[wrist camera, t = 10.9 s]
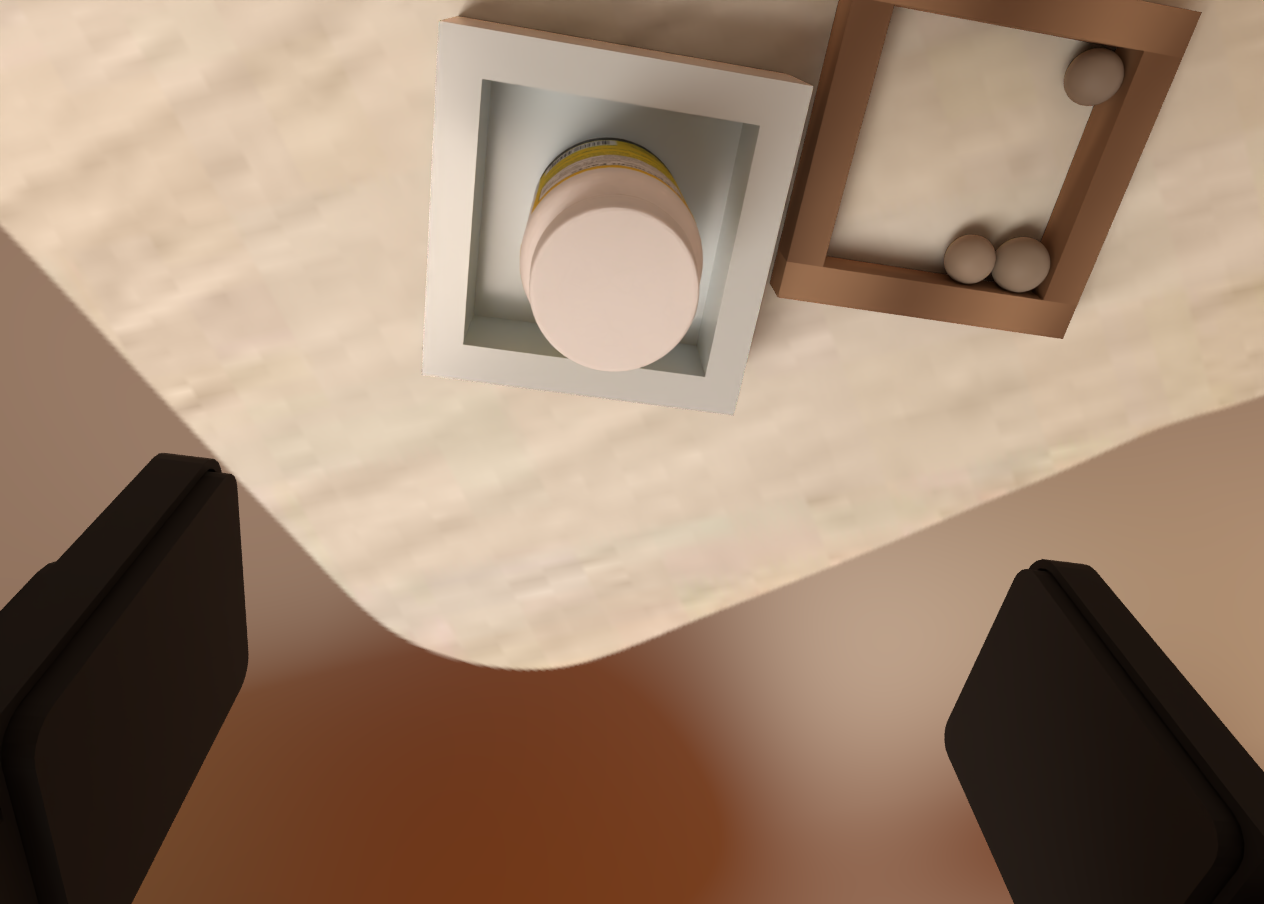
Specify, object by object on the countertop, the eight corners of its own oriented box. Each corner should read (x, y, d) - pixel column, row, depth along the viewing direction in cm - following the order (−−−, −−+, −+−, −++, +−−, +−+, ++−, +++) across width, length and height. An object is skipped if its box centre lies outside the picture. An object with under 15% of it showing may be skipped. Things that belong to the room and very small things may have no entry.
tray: (1170, 10, 26) (1208, 12, 24) (1042, 323, 30) (1066, 342, 29) (851, -52, 25) (868, -54, 23) (769, 283, 29) (779, 300, 28)
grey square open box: (787, 74, 26) (813, 86, 23) (720, 372, 31) (733, 415, 28) (457, 15, 25) (438, 20, 22) (439, 334, 30) (421, 375, 27)
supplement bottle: (640, 309, 29) (657, 419, 21) (509, 248, 28) (479, 343, 20) (708, 175, 27) (753, 245, 19) (570, 105, 26) (561, 150, 18)
